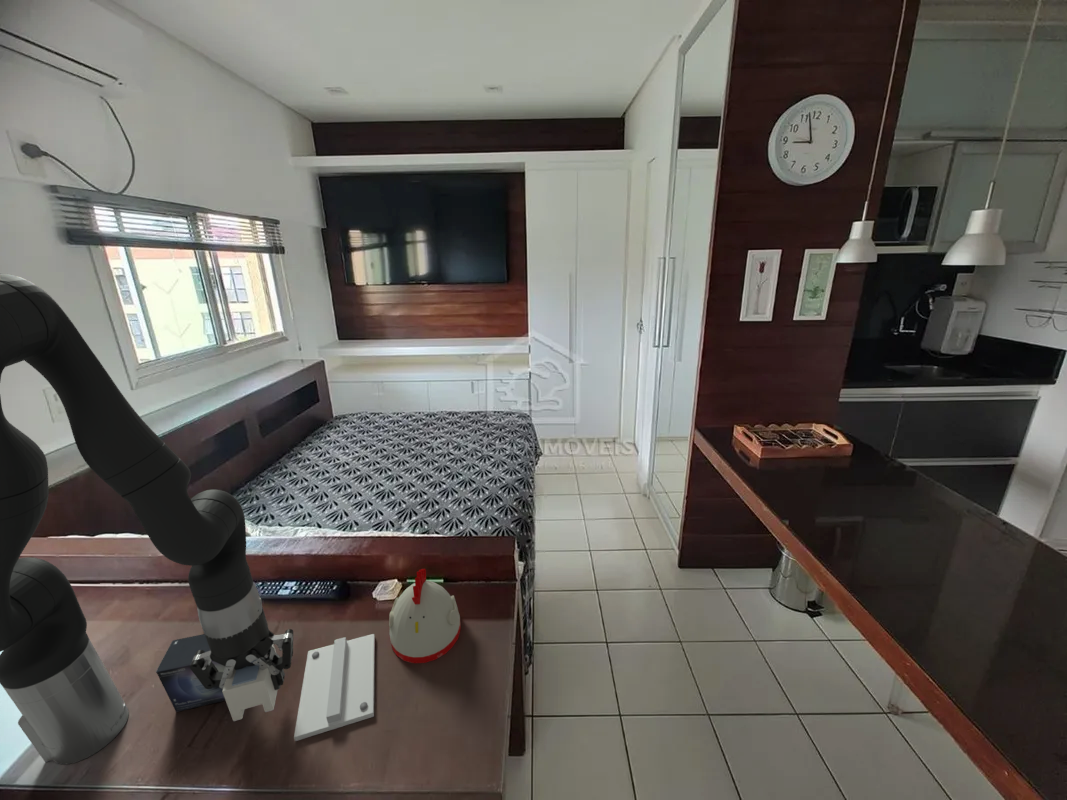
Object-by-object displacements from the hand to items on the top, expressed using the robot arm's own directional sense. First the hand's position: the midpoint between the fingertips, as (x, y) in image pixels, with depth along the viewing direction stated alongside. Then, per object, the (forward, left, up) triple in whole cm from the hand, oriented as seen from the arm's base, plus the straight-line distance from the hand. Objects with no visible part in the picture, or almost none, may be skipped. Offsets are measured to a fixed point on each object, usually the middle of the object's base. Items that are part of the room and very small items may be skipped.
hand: (257, 690), depth 72 cm
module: (0, 0, -1) cm, 1 cm away
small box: (-10, +8, -6) cm, 14 cm away
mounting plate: (+11, +2, -6) cm, 13 cm away
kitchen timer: (+27, +8, -6) cm, 29 cm away
